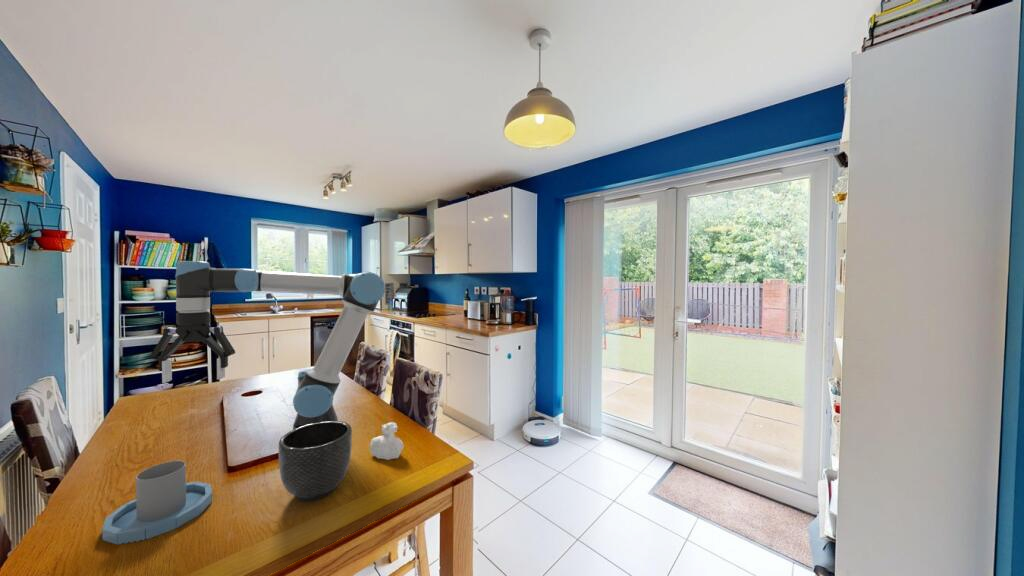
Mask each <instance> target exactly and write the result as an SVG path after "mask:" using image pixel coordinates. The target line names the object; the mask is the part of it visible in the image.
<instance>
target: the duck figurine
mask: <svg viewBox="0 0 1024 576" xmlns="http://www.w3.org/2000/svg"><path fill="white" fill-rule="evenodd" d="M398 428H399V427H398V426H397V423H396V422H393V421H391V422H387V423H385V424H381V433H382V434H383V435H379V436H377V437H376V436H375V437H373V438H372V439H371V440H370V443H369V451H370V454H371V455H372V456H374V457H376V458H377V459H380V460H386V461H390V460H393V459H394V460H395V459H398V458H399V457H400V455H401V453H402V450H403V448H404V443H403V441H402V439H400V438H399V437H396V436H395V433H397V430H398Z"/></svg>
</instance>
